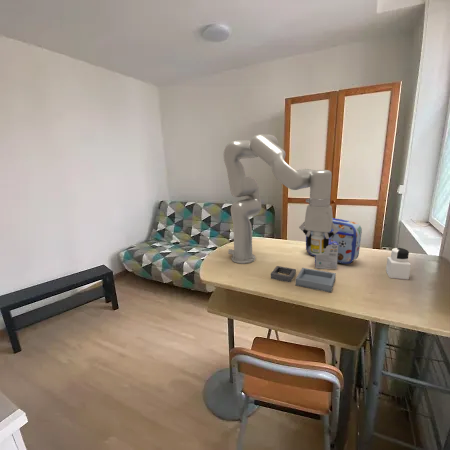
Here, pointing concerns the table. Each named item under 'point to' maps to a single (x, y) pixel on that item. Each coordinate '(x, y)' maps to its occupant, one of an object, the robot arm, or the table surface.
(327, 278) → the tray
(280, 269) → the collar
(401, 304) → the table surface
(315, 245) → the supplement bottle
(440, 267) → the table surface
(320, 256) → the ink cartridge box
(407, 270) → the medicine bottle
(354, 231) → the lunch box
